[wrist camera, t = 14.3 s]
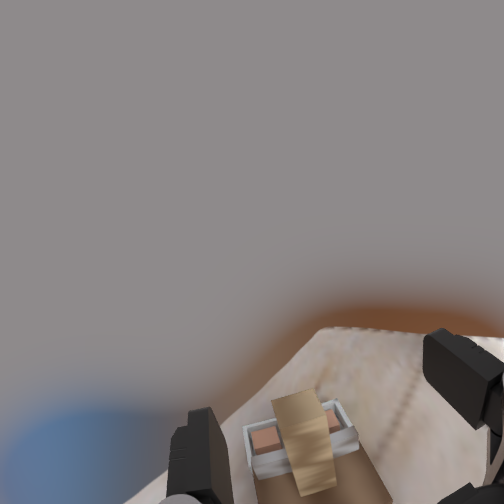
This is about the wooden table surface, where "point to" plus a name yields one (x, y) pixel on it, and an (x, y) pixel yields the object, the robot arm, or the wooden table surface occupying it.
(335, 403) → the tray
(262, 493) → the board
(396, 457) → the wooden table surface
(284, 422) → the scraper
